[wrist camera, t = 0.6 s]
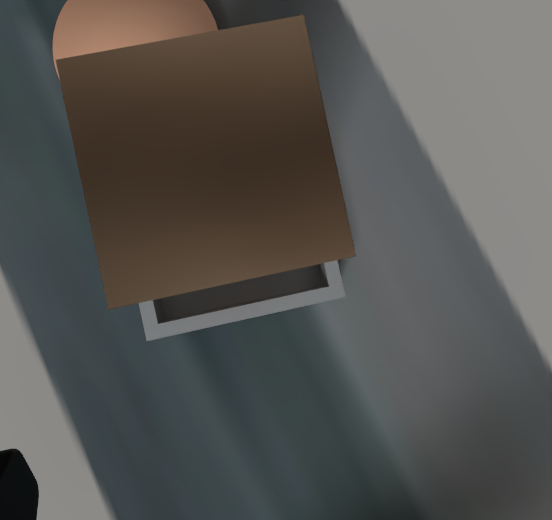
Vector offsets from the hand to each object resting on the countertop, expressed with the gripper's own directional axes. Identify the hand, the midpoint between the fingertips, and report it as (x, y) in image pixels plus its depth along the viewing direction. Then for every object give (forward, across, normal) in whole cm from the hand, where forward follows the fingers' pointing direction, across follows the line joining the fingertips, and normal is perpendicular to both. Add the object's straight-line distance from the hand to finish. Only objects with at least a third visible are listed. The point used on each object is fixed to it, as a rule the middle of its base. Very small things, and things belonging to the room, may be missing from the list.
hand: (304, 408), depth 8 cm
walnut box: (+16, +1, +4) cm, 17 cm away
